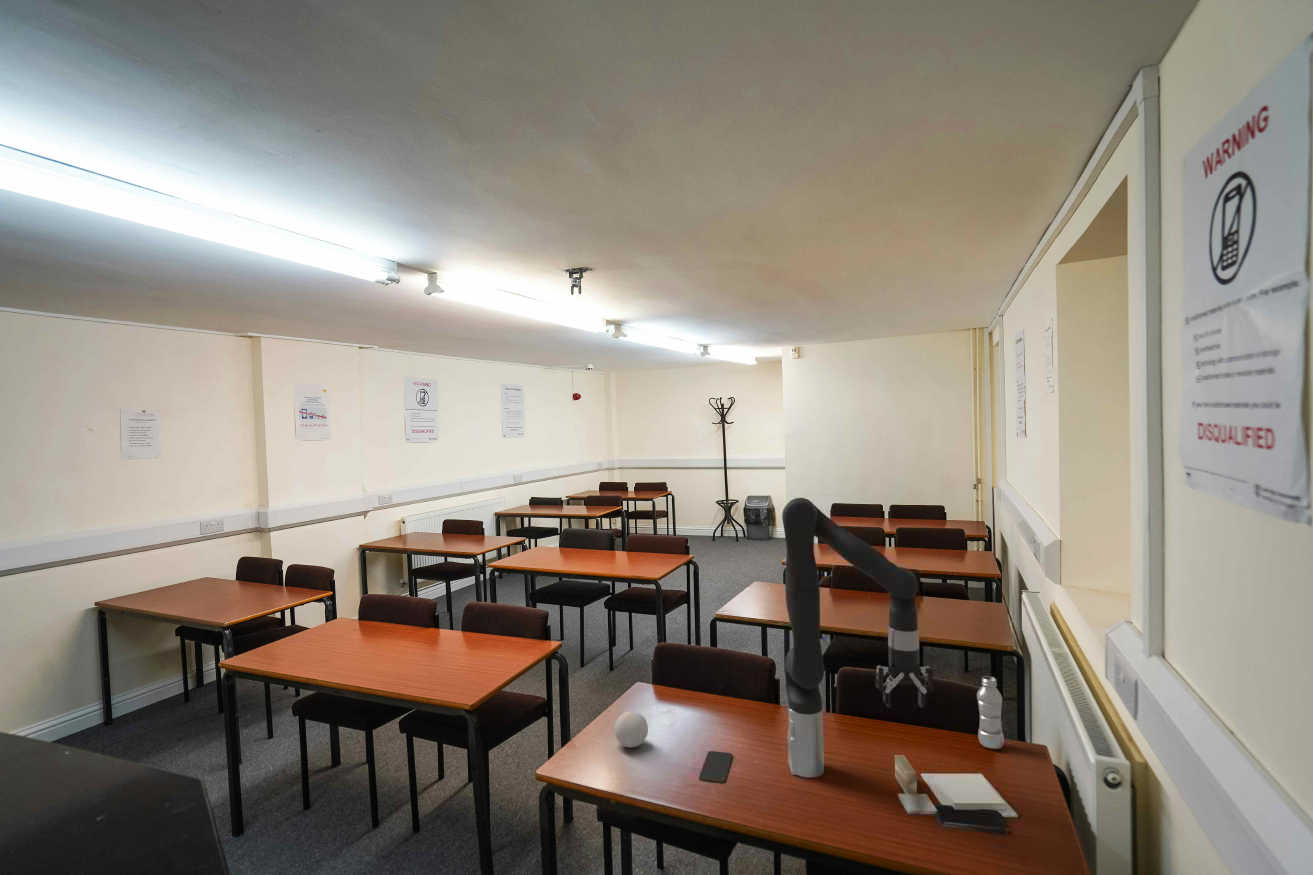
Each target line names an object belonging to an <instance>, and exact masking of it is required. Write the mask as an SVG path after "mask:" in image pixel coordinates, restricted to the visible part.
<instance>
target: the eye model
mask: <svg viewBox="0 0 1313 875" xmlns="http://www.w3.org/2000/svg"><path fill="white" fill-rule="evenodd" d="M648 733H649V726H648V722H647V720H646V718H645V716H643V715H642V714H641V713H639V712H637V711H633V710H630V711H626V712H624V713H622V714H621V715H620V716H619V717H618V719H617V720H616V722H615V725H614V734H615V738H616V740H617V741H618V743H619V744H620V745H622V746H623V747H625V748H631V749H633V748H638V747H639V746H640V745H642V744H643V743H644V742H645V740H646V738H647V736H648Z"/></svg>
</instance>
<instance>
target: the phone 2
mask: <svg viewBox="0 0 1313 875" xmlns="http://www.w3.org/2000/svg"><path fill="white" fill-rule="evenodd" d="M933 805H934V806H935V808H936V809H937V811H938V812H937V811H936V814H935V817H936V820H937V823H938V824H939V825H940V826H941V827H944V828H949V829H951V828H953V829H959V830H968V831H976V832H984V833H992V834H1002V835H1008V834H1009V833H1010V828H1009V826H1008V824H1007V822H1006V820H1005V817H1003V816H1002V814H1001V813H1000V812H998V811H995V810H987V809H980V810H955V809H954V808H953V806H951V805H942V804H941V803H935V804H933Z"/></svg>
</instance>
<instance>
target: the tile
mask: <svg viewBox="0 0 1313 875" xmlns="http://www.w3.org/2000/svg"><path fill="white" fill-rule="evenodd" d="M934 781H935V783H936V784H937V786H938V787H939V788H940V790H941V791H942V793H943V794H944V795H945V797H946V798H947V799H948V801H949V802H950V804H951V805H952V806H953V808H954V809H955V810H980V809H987V810H1005V803H1004V801H1003V800H1002V799H1001V798H1000V797H999V796H998V795H997V793H996V792H995V791H994V790H993V789H992V788H991V786H990V785H989V784H988V783H987V782H986V781H985V780H984V778H983V777H982V776H981V775H934Z"/></svg>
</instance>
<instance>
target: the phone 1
mask: <svg viewBox="0 0 1313 875" xmlns="http://www.w3.org/2000/svg"><path fill="white" fill-rule="evenodd" d="M732 760H733V754H732V753H731V752H723V751H715V750H710V751H707V754H706V757H705V759H704V762H703V765H702V767H701V768H702V769H701V771H700V773H699V777H698V779H699V780H700V781H702V782H706V783H707V782H708V783H717V784H724V783H726V782H727V779H728V774H729V771H730V767H731V765H732Z"/></svg>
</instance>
